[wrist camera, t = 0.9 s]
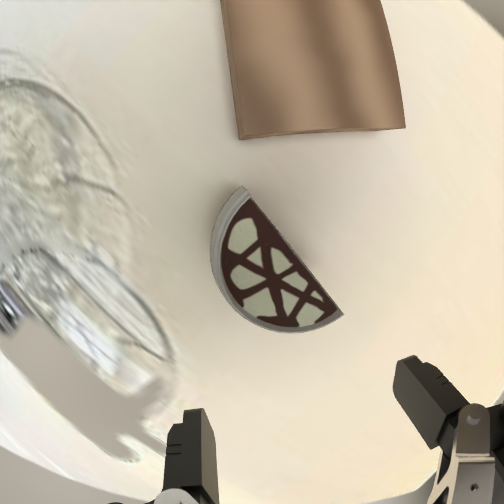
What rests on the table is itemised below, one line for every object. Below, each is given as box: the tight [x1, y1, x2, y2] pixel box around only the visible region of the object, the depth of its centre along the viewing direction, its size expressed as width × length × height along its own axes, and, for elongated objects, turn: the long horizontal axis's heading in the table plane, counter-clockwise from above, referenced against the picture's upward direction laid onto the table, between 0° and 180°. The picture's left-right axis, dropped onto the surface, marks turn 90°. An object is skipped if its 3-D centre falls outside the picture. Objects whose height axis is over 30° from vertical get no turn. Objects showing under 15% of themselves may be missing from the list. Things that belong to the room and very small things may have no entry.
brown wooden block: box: [220, 0, 406, 140], centre depth 22 cm, size 14×18×6 cm
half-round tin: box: [210, 186, 344, 333], centre depth 25 cm, size 12×6×10 cm, turn 39°
